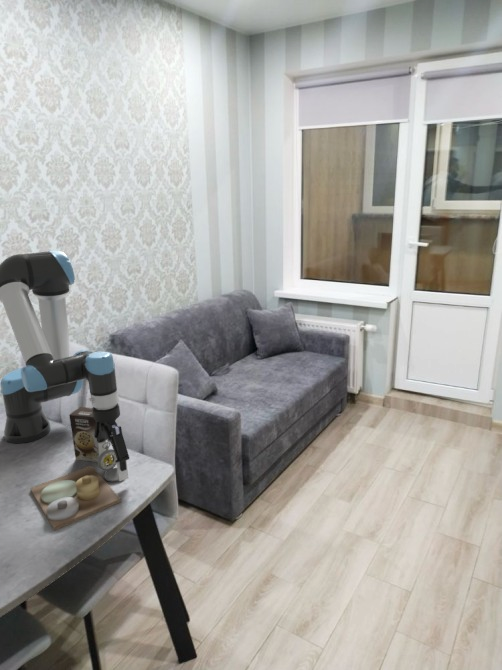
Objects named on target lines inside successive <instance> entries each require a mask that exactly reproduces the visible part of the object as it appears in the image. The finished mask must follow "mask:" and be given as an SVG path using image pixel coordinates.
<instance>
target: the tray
mask: <svg viewBox="0 0 502 670" xmlns="http://www.w3.org/2000/svg"><path fill="white" fill-rule="evenodd" d="M30 493H31V494H32V495H33V498H34V499H35V500H36V502H37V504H38V505H39V508H40V509H41V510H42V512H43V514H44V515H45V517H46V519H47V520H48V522H49V525H50V526H51V527H52V529H53V530H54V531H56V530H57V531H58V530H59V529H61V528H65V526H68V525H70V524H74V523H75V522H77V521H80V520H82V519H85V518H87V517H89V516H92V515H94V514H95V513H99V512H101V511H103V510H106V509H108V508H110V507H113V506H115V505H118V504H119V503H121V502H122V500H121V498H120V496H119V495H118V494H117V493H116V492H115V490H113V488H112V487H111V486H110V485H109V484H108V483H107V482H106V480H105V479H104V477H102V476H101V475H100V474H99V473H98V471H97V470H96V469H94V467H93V466H92V465H89V466H86V467H83V468H81V469H78V470H75V471H73V472H69V473H68V474H64V475H62V476H60V477H56V478H54V479H50V480H48V481H46V482H44V483H40V484H37V485H35V486H32V487H30Z"/></svg>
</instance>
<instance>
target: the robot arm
mask: <svg viewBox="0 0 502 670" xmlns="http://www.w3.org/2000/svg"><path fill="white" fill-rule="evenodd" d="M74 271H75V270H74V269H73V266H72V262H71V260H70V259H69V257H68V256H67V254H66V253H65V252H63V251H61V250H58V251H52V250H49V251H41V252H40V251H39V252H31V253H20V254H14V255H11V256H9V257H7V258H5V259H4V260H3V261H2V262H1V263H0V302H1V303H2V305H3V308H4V310H5V312H6V316H7V318H8V321H9V324H10V326H11V329H12V332H13V335H14V337H15V340H16V342H17V345H18V347H19V350H20V354H21V356H22V359H23V361H24V364H25V366H23V367H21V368H17V369H14V370H12V371H10V372H8V373H7V374H5V375H4V376H3V377H2V379H1V380H0V389H1V390H0V391H1V392H0V393H1V395H2V399H3V405H4V410H5V414H6V415H5V416H6V420H5V424H4V429H3V434H4V435H3V436H4V440H5V441H6V442H8V443H11V444H25V443H30V442H35V441H37V440H39V439H41V438H43V437H45V436H47V435H48V434H49V433H50V431H51V423H50V421H49V419H48V417H47V415H46V413H45V412H44V411H43V406H42V403H45V402H49V401H50V402H51V401H53V400H57V399H60V398H64V397H70V396H71V395H75V394H77V393H79V392H80V391H81V390H82V388H83V384H84V380H87V382H88V387H89V388H88V389H89V394H90V397H89V399H88V400H89V401H90V403H91V406H92V407H91V408H92V410H93V417H94V420H95V435H94V437H95V438H97V441H98V442H99V443H98V445H99V453H100V455H101V454H102V453H103V452H104V451H106V449H104V448H105V447H106V446H109V441H110V445H111V447H112V449H113V450H114V452H115V455H116V457H117V460H116V461H115V462H116V468H117V472H118V479H119V481H118V482H121V481H125V480H126V479H129V472H128V471H129V470H128V464H127V463H128V462H127V460H130V455H129V451H128V448H127V444H126V441H125V437H124V436H123V431H122V426H121V425H118V423H117V422H116V420H117V419H118V418H119V417H120V416H121V410H120V403H119V400H120V399H119V390H118V387H117V386H118V385H117V379H116V378H117V377H116V369H115V367H116V364H115V362H114V357H113V354H112V353H111V352H110V351H95V352H93V351H89V350H84V349H82V350H78V351H77V352H75V353H74V354H73V355H71V354H72V353H71V344H70V343H71V342H70V333H69V332H70V331H69V322H68V314H67V313H68V311H67V303H66V296H67V295H68V294H69V293H70V286H71V285H74V283H75V278H76V277H75V272H74ZM30 291H32V295H34V296H35V297H37V299H38V308H39V309H38V310H39V315H40V321H39V319H38V316H37V313H36V311H35V309H34V307H33V304H32V302H31V298H30V296H29V294H30ZM106 439H108V441H107V440H106ZM105 440H106V441H105ZM107 442H108V443H107ZM104 443H106V444H104ZM103 444H104V446H103ZM102 446H103V447H104V448H102ZM108 449H110V448H108Z"/></svg>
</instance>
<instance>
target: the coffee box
mask: <svg viewBox="0 0 502 670" xmlns="http://www.w3.org/2000/svg"><path fill="white" fill-rule="evenodd" d="M92 408H93V407H83V406H79V407H77V408H76V409H75V410H74V411H72V412H71V413H70V414H68V416H69V422H70V429H71V435H72V442H73V449H74V450H73V451H74V457H75V460H76V461H85V462H93V463H98V458H99V456H100V453H99V445H98V443H99V442H98V441H97V438H95V437H94V435H95V420H94V417H93V410H92ZM106 440H107V441H108V442H109V440H108V439H106ZM106 440H105V441H106Z"/></svg>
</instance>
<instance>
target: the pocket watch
mask: <svg viewBox="0 0 502 670" xmlns="http://www.w3.org/2000/svg"><path fill="white" fill-rule="evenodd" d="M107 443H108V446H106V447H105V448H104V447H103V446H104V444H106V443H104V444H103V446H102V448H104V449H106V451H104V452H103V453H102V454H101V455H100V456H99V458H98V462H97V466H98V468H99V469H100V470H101V471H104V475H103V479H104V481H107V482H111V483H112V482H120V481H119V479H118V472H117V467H116V466H117V464H116V462H115V461H116V460H117V457H116V455H115V452H114V449H113V448H111V449H110V448H109V447H110V446H111V442H109V441H108V442H107ZM108 448H109V449H108Z"/></svg>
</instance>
